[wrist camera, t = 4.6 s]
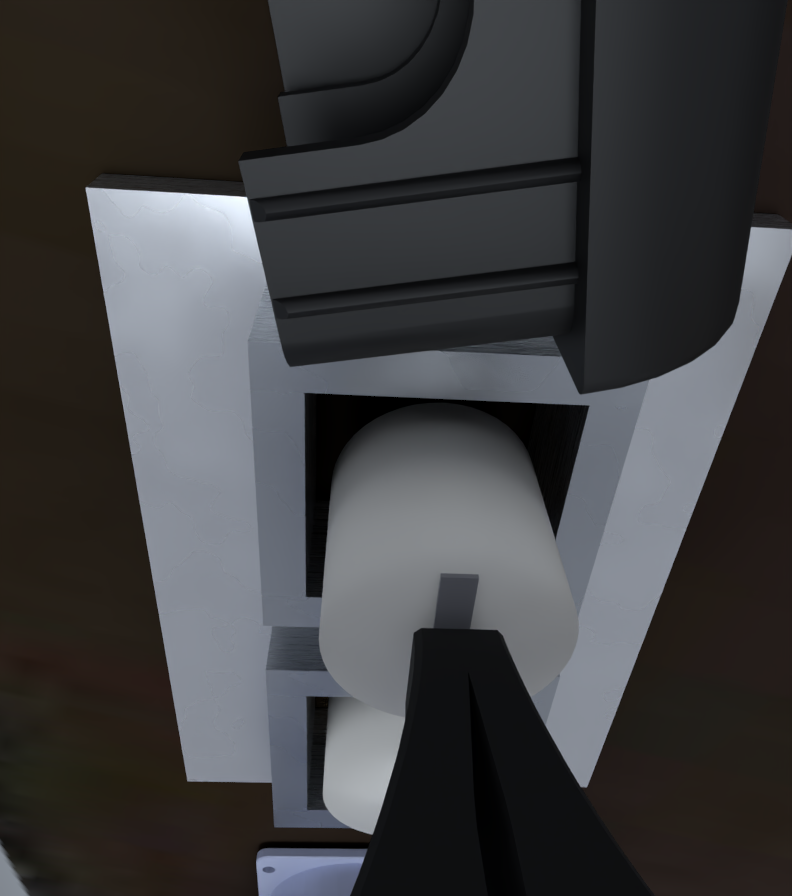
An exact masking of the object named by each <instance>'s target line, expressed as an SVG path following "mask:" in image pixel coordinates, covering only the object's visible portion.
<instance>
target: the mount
mask: <svg viewBox="0 0 792 896" xmlns="http://www.w3.org/2000/svg"><path fill="white" fill-rule="evenodd" d="M86 193H87V198H88V204H89V210H90V216H91V222H92V227H93V233H94V239H95V245H96V251H97V257H98V262H99V268H100V274H101V280H102V286H103V292H104V297H105V303H106V309H107V315H108V321H109V326H110V332H111V338H112V344H113V350H114V356H115V361H116V367H117V373H118V379H119V385H120V391H121V396H122V402H123V408H124V414H125V420H126V425H127V431H128V437H129V443H130V449H131V455H132V460H133V466H134V472H135V478H136V484H137V489H138V495H139V501H140V507H141V513H142V519H143V524H144V530H145V536H146V542H147V548H148V554H149V559H150V565H151V571H152V577H153V583H154V588H155V594H156V600H157V606H158V612H159V618H160V623H161V629H162V635H163V641H164V647H165V653H166V658H167V664H168V670H169V676H170V682H171V687H172V693H173V699H174V705H175V711H176V717H177V722H178V728H179V734H180V740H181V746H182V752H183V757H184V763H185V769H186V775H187V781H202V782H270V783H272V794H273V812H274V827H301V828H351V827H349V826H347V825H345V824H343V823H342V822H340V821H339V820H337V819H336V818H335V817H334V816H333V815H332V814H331V813H330V812H329V811H328V809H327V807H326V806H325V803H324V800H323V781H324V765H325V748H326V732H327V716H328V709H315V696H319V697H353V696H352V695H350V694H349V693H348V692H346V691H345V690H344V689H343V688H342V687H341V686H340V685H339V684H338V683H337V682H336V681H335V680H334V679H333V677H332V676H331V674H330V673H329V672H328V670H327V668H326V666H325V664H324V662H323V659H322V656H321V653H320V647H319V629H320V617H321V604H322V592H323V579H324V567H325V555H326V542H327V530H328V517H329V505H330V501H316V393H321V394H344V395H366V396H389V397H411V398H433V399H456V400H478V401H501V402H523V403H537V406H536V411H535V416H534V420H533V425H532V430H531V435H530V440H529V445H528V450H527V451H528V453H529V456H530V458H531V461H532V464H533V467H534V471H535V474H536V477H537V481H538V484H539V487H540V491H541V494H542V497H543V501H544V504H545V507H546V510H547V514H548V517H549V520H550V524H551V527H552V530H553V534H554V537H555V540H556V544H557V547H558V550H559V554H560V557H561V560H562V564H563V567H564V570H565V574H566V577H567V580H568V584H569V587H570V590H571V594H572V597H573V600H574V604H575V607H576V610H577V616H578V621H579V634H578V639H577V643H576V647H575V649H574V652H573V654H572V656H571V658H570V660H569V661H568V663H567V665H566V666H565V668H564V669H563V670H562V671H561V672H560V674H559V675H558V676H557V677H556V678H555V679H554V680H553V681H552V682H551V683H550V684H549V685H547V686H546V687H545V688H543V689H542V690H541V691H539V692H538V693H537V694H535V695H533V696H532V697H531V699H532V701H533V703H534V705H535V707H536V709H537V711H538V713H539V714H540V716H541V718H542V720H543V722H544V724H545V726H546V728H547V729H548V731H549V733H550V735H551V736H552V738H553V740H554V742H555V744H556V745H557V747H558V749H559V751H560V752H561V754H562V756H563V758H564V760H565V761H566V763H567V765H568V767H569V768H570V770H571V772H572V773H573V775H574V777H575V778H576V780H577V782H578V783H579V785H580V787H587V786H588V783H589V781H590V778H591V775H592V773H593V770H594V768H595V765H596V762H597V760H598V757H599V755H600V752H601V749H602V747H603V744H604V742H605V739H606V736H607V734H608V731H609V729H610V726H611V723H612V721H613V718H614V716H615V713H616V710H617V708H618V705H619V703H620V700H621V697H622V695H623V692H624V690H625V687H626V684H627V682H628V679H629V677H630V674H631V671H632V669H633V666H634V664H635V661H636V658H637V656H638V653H639V651H640V648H641V645H642V643H643V640H644V638H645V635H646V632H647V630H648V627H649V625H650V622H651V619H652V617H653V614H654V612H655V609H656V606H657V604H658V601H659V598H660V596H661V593H662V591H663V588H664V585H665V583H666V580H667V578H668V575H669V572H670V570H671V567H672V565H673V562H674V559H675V557H676V554H677V552H678V549H679V546H680V544H681V541H682V539H683V536H684V533H685V531H686V528H687V526H688V523H689V520H690V518H691V515H692V513H693V510H694V507H695V505H696V502H697V500H698V497H699V494H700V492H701V489H702V487H703V484H704V481H705V479H706V476H707V474H708V471H709V468H710V466H711V463H712V461H713V458H714V455H715V453H716V450H717V448H718V445H719V442H720V440H721V437H722V435H723V432H724V429H725V427H726V424H727V422H728V419H729V416H730V414H731V411H732V409H733V406H734V403H735V401H736V398H737V396H738V393H739V390H740V388H741V385H742V383H743V380H744V377H745V375H746V372H747V370H748V367H749V364H750V362H751V359H752V357H753V354H754V351H755V349H756V346H757V343H758V341H759V338H760V336H761V333H762V330H763V328H764V325H765V323H766V320H767V317H768V315H769V312H770V310H771V307H772V304H773V302H774V299H775V297H776V294H777V291H778V289H779V286H780V284H781V281H782V278H783V276H784V273H785V271H786V268H787V265H788V263H789V260H790V258H791V255H792V223H790V222H789V221H787V220H786V219H784V218H783V217H781V216H780V215H777V214H761V213H753V219H752V226H751V232H750V238H749V244H748V251H747V257H746V263H745V269H744V276H743V282H742V288H741V294H740V301H739V305H738V308H737V312H736V315H735V319H734V322H733V324H732V325H731V327H730V328H729V329H728V330H727V331H726V333H725V334H724V335H723V336H722V338H721V339H720V340H719V341H718V343H717V344H716V345H715V346H713V347H712V348H711V349H709V350H708V351H706V352H705V353H704V354H702V355H701V356H699V357H698V358H696V359H695V360H694V361H692V362H690V363H688V364H686V365H684V366H682V367H680V368H677V369H675V370H673V371H671V372H669V373H666V374H664V375H662V376H660V377H657V378H654V379H650V380H647V381H643V382H640V383H637V384H633V385H630V386H626V387H623V388H618V389H612V390H606V391H600V392H594V393H588V394H582V395H581V394H579V393H578V391H577V389H576V386H575V384H574V382H573V380H572V378H571V375H570V373H569V371H568V369H567V367H566V365H565V362H564V360H563V358H562V356H561V354H560V351H559V349H558V347H557V345H556V343H555V340H554V338H553V336H548V337H540V338H531V339H523V340H515V341H506V342H498V343H489V344H481V345H473V346H464V347H456V348H447V349H439V350H431V351H422V352H414V353H405V354H397V355H389V356H380V357H372V358H363V359H355V360H347V361H338V362H330V363H321V364H313V365H305V366H296V367H290V366H289V365H288V364H287V362H286V359H285V357H284V354H283V350H282V346H281V342H280V338H279V334H278V330H277V325H276V321H275V317H274V312H273V308H272V304H271V299H270V295H269V291H268V286H267V282H266V278H265V273H264V269H263V265H262V261H261V256H260V252H259V248H258V243H257V239H256V235H255V230H254V226H253V222H252V217H251V213H250V209H249V205H248V200H247V196H246V192H245V187H244V183H243V182H232V181H216V180H199V179H183V178H166V177H150V176H133V175H117V174H101V175H100V176H98V177H97V178H96V179H95V180H94V181H93V182H91V183H90V184H89V185H88V186H87V187H86Z"/></svg>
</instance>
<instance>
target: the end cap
mask: <svg viewBox="0 0 792 896" xmlns="http://www.w3.org/2000/svg"><path fill="white" fill-rule="evenodd" d="M268 3H269V8H270V14H271V19H272V24H273V30H274V35H275V40H276V46H277V51H278V56H279V62H280V67H281V72H282V78H283V83H284V88H285V92H280V94H279V96H278V101H279V106H280V111H281V116H282V122H283V127H284V132H285V137H286V142H287V147H280V148H273V149H265V150H258V151H250V152H244V153H243V155H242V156H241V158H240V159H239V166H240V170H241V174H242V179H243V183H244V187H245V192H246V196H247V200H248V205H249V209H250V213H251V217H252V222H253V226H254V230H255V235H256V239H257V243H258V248H259V252H260V256H261V261H262V265H263V269H264V273H265V278H266V282H267V286H268V291H269V295H270V299H271V304H272V308H273V312H274V317H275V321H276V325H277V330H278V334H279V338H280V342H281V346H282V350H283V354H284V357H285V359H286V362H287V364H288V365H289V366H290V367H296V366H305V365H313V364H321V363H330V362H338V361H347V360H355V359H363V358H372V357H380V356H389V355H397V354H405V353H414V352H422V351H431V350H439V349H447V348H456V347H464V346H473V345H481V344H489V343H498V342H506V341H515V340H523V339H531V338H540V337H548V336H553V338H554V340H555V343H556V345H557V347H558V349H559V351H560V354H561V356H562V358H563V360H564V362H565V365H566V367H567V369H568V371H569V373H570V375H571V378H572V380H573V382H574V384H575V386H576V389H577V391H578V393H579V394H581V395H582V394H588V393H594V392H600V391H606V390H612V389H618V388H623V387H626V386H630V385H633V384H637V383H640V382H643V381H647V380H650V379H654V378H657V377H660V376H662V375H664V374H666V373H669V372H671V371H673V370H675V369H677V368H680V367H682V366H684V365H686V364H688V363H690V362H692V361H694V360H695V359H696V358H698V357H699V356H701V355H702V354H704V353H705V352H706V351H708V350H709V349H711V348H712V347H713V346H715V345H716V344H717V343H718V341H719V340H720V339H721V338H722V336H723V335H724V334H725V333H726V331H727V330H728V329H729V328H730V327H731V325H732V324H733V322H734V319H735V315H736V312H737V308H738V305H739V301H740V294H741V288H742V282H743V276H744V269H745V263H746V257H747V251H748V244H749V238H750V232H751V226H752V219H753V213H754V207H755V201H756V194H757V188H758V182H759V175H760V169H761V163H762V157H763V150H764V144H765V138H766V132H767V125H768V119H769V113H770V107H771V100H772V94H773V88H774V82H775V75H776V69H777V63H778V57H779V50H780V44H781V38H782V31H783V25H784V19H785V13H786V6H787V0H268Z"/></svg>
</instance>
